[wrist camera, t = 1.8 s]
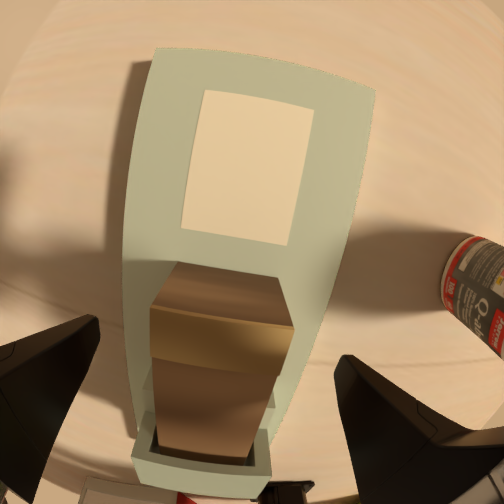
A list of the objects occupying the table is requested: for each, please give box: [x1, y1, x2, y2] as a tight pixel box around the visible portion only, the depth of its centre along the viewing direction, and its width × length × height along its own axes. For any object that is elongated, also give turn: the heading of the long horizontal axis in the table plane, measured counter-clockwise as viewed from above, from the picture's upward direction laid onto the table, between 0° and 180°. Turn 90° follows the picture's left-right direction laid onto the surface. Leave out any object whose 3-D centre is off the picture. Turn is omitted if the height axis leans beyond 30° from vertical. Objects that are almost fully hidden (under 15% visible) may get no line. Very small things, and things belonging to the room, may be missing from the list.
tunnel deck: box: [122, 48, 376, 499], centre depth 11 cm, size 28×10×7 cm, turn 169°
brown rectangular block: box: [150, 261, 295, 466], centre depth 12 cm, size 12×4×4 cm, turn 169°
